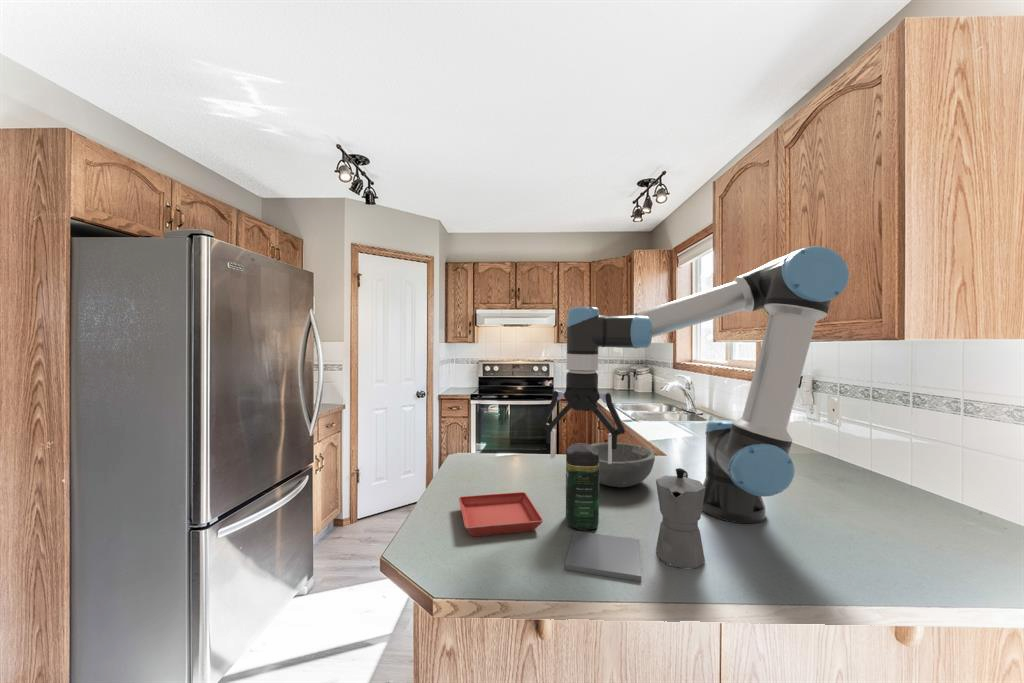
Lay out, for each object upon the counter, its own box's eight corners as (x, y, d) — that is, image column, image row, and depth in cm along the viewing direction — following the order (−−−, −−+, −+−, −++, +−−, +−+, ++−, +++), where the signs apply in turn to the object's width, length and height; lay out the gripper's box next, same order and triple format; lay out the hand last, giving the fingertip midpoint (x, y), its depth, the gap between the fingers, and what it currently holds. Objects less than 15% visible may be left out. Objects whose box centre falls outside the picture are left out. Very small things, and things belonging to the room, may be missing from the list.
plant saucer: (525, 502, 110) (525, 490, 110) (544, 534, 93) (544, 519, 93) (458, 509, 106) (458, 496, 106) (465, 543, 89) (465, 528, 89)
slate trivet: (639, 543, 87) (639, 539, 87) (641, 581, 74) (641, 576, 74) (574, 535, 91) (574, 530, 91) (564, 569, 78) (564, 564, 78)
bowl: (584, 467, 139) (584, 438, 139) (653, 474, 132) (654, 443, 132) (573, 491, 117) (573, 457, 117) (655, 501, 110) (655, 464, 110)
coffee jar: (600, 532, 92) (600, 451, 92) (565, 530, 93) (565, 450, 93) (597, 514, 102) (597, 440, 102) (565, 512, 103) (565, 440, 103)
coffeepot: (703, 580, 74) (703, 482, 74) (649, 566, 79) (649, 474, 79) (707, 543, 88) (708, 460, 88) (662, 533, 92) (662, 454, 92)
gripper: (636, 372, 98) (634, 460, 98) (534, 368, 104) (533, 450, 105) (636, 375, 90) (635, 469, 91) (528, 371, 97) (526, 459, 98)
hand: (580, 459), depth 98 cm, fingers open, 13 cm apart
